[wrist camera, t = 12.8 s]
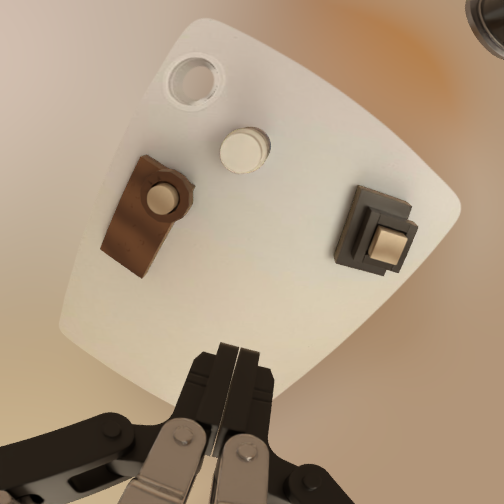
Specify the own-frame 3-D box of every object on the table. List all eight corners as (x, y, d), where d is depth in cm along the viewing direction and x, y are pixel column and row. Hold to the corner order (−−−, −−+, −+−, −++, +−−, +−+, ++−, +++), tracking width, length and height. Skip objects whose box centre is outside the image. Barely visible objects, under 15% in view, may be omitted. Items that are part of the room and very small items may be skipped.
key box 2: (358, 184, 36) (365, 192, 32) (412, 203, 36) (423, 213, 32) (333, 255, 40) (337, 270, 36) (385, 270, 40) (393, 285, 36)
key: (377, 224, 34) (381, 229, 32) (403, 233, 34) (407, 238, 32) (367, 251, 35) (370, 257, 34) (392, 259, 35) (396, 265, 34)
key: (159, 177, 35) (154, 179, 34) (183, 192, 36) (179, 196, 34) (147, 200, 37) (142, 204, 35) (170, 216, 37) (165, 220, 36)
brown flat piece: (150, 147, 37) (138, 151, 34) (206, 183, 38) (198, 190, 35) (106, 244, 44) (94, 253, 41) (152, 276, 45) (143, 288, 42)
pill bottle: (245, 171, 37) (232, 187, 29) (224, 139, 36) (205, 146, 28) (279, 152, 35) (274, 162, 28) (257, 119, 34) (247, 119, 26)
